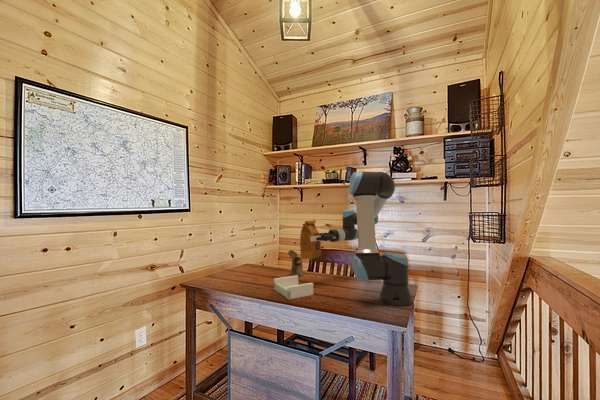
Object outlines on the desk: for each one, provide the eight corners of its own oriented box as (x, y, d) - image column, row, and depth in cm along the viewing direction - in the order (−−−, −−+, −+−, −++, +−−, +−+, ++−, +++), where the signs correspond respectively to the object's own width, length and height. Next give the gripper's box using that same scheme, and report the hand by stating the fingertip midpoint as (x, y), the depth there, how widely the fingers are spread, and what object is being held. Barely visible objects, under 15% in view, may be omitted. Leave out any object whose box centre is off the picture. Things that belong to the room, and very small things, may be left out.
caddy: (313, 294, 147) (313, 283, 147) (288, 299, 140) (288, 287, 140) (297, 285, 163) (297, 275, 163) (273, 289, 156) (273, 278, 156)
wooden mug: (284, 277, 179) (284, 249, 179) (293, 272, 192) (293, 246, 192) (297, 279, 176) (297, 250, 176) (305, 273, 188) (305, 247, 188)
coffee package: (323, 256, 166) (323, 219, 166) (312, 260, 156) (311, 221, 156) (309, 255, 172) (309, 219, 172) (298, 258, 162) (297, 220, 162)
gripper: (348, 244, 162) (316, 247, 151) (325, 239, 183) (295, 241, 172) (348, 231, 162) (316, 233, 151) (325, 227, 183) (295, 229, 172)
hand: (305, 237), depth 162 cm, fingers closed on coffee package, 11 cm apart
